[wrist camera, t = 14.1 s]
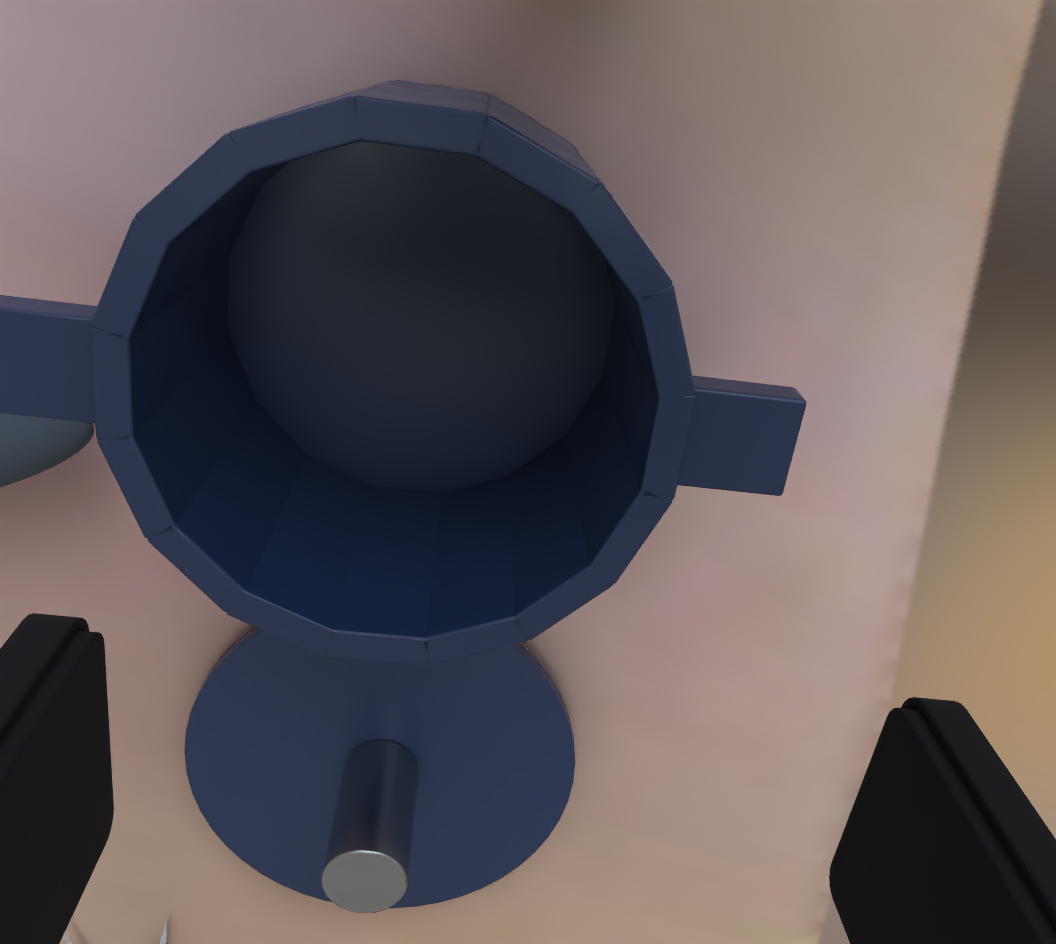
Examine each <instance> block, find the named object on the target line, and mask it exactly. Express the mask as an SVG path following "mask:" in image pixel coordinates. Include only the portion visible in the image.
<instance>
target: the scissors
mask: <svg viewBox="0 0 1056 944" xmlns="http://www.w3.org/2000/svg"><path fill="white" fill-rule="evenodd" d="M64 937H65V940H66V943H67V944H72V943H71V941H70V939H69V938H68V936H67V935H66V933H65V932H64ZM159 944H167V921H166V924H165V927H164V931H163V934H162V937H161V940H160V943H159Z"/></svg>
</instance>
